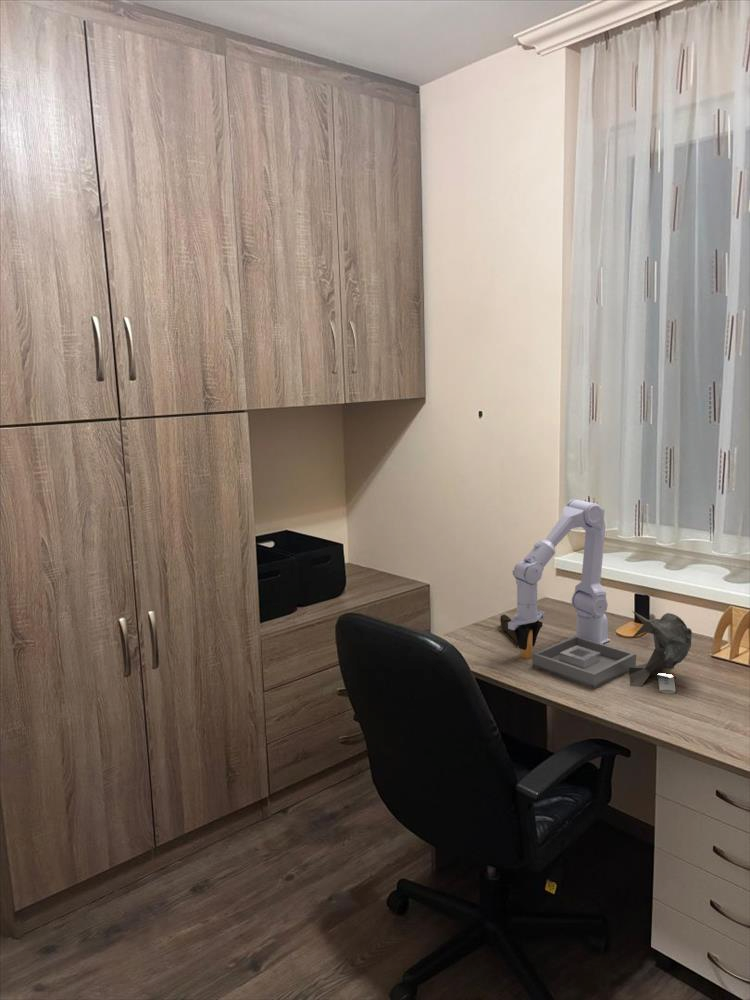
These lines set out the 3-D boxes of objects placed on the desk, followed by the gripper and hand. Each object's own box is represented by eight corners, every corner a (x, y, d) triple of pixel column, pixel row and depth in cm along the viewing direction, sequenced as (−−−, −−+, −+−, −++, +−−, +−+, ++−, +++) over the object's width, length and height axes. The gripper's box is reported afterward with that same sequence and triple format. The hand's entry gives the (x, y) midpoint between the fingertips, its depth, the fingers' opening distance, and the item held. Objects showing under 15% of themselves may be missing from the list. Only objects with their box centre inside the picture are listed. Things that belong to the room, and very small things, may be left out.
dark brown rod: (530, 646, 228) (530, 632, 227) (517, 647, 227) (517, 633, 226) (509, 625, 246) (509, 612, 245) (497, 626, 245) (497, 613, 245)
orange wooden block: (525, 653, 222) (526, 627, 220) (534, 656, 219) (534, 630, 218) (518, 656, 220) (519, 630, 218) (527, 659, 217) (527, 633, 216)
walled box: (574, 648, 224) (575, 635, 224) (635, 667, 209) (636, 653, 209) (532, 667, 212) (532, 653, 211) (594, 689, 197) (594, 674, 196)
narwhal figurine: (693, 691, 194) (696, 624, 190) (630, 685, 198) (632, 620, 195) (687, 669, 207) (690, 606, 204) (628, 664, 211) (630, 603, 208)
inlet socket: (576, 653, 218) (576, 645, 218) (600, 661, 212) (600, 652, 212) (559, 661, 213) (559, 652, 213) (583, 669, 207) (583, 660, 206)
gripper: (531, 593, 224) (531, 637, 227) (499, 605, 215) (499, 650, 217) (551, 599, 219) (550, 643, 221) (519, 610, 210) (519, 656, 212)
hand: (526, 647), depth 219 cm, fingers closed on orange wooden block, 3 cm apart
